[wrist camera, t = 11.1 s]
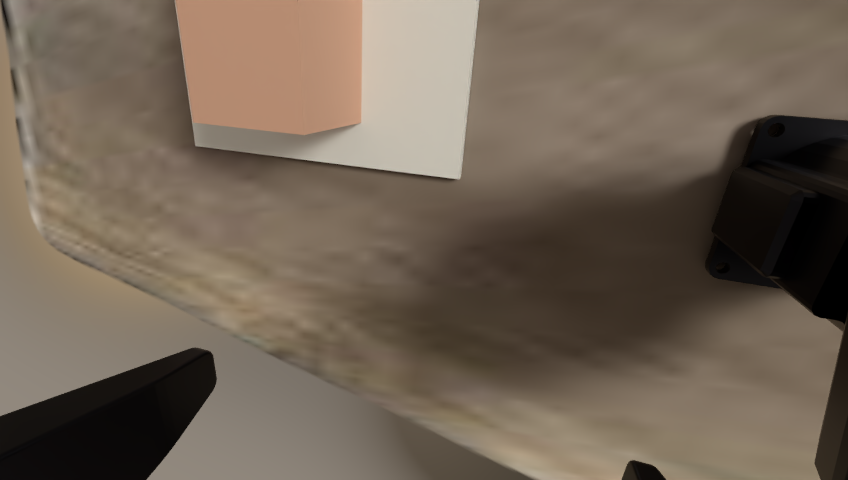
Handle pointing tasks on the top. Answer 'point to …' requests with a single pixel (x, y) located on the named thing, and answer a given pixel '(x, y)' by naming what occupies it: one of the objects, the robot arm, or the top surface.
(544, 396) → the top surface
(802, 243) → the robot arm
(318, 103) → the tan rectangular block
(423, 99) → the mat
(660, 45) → the top surface
